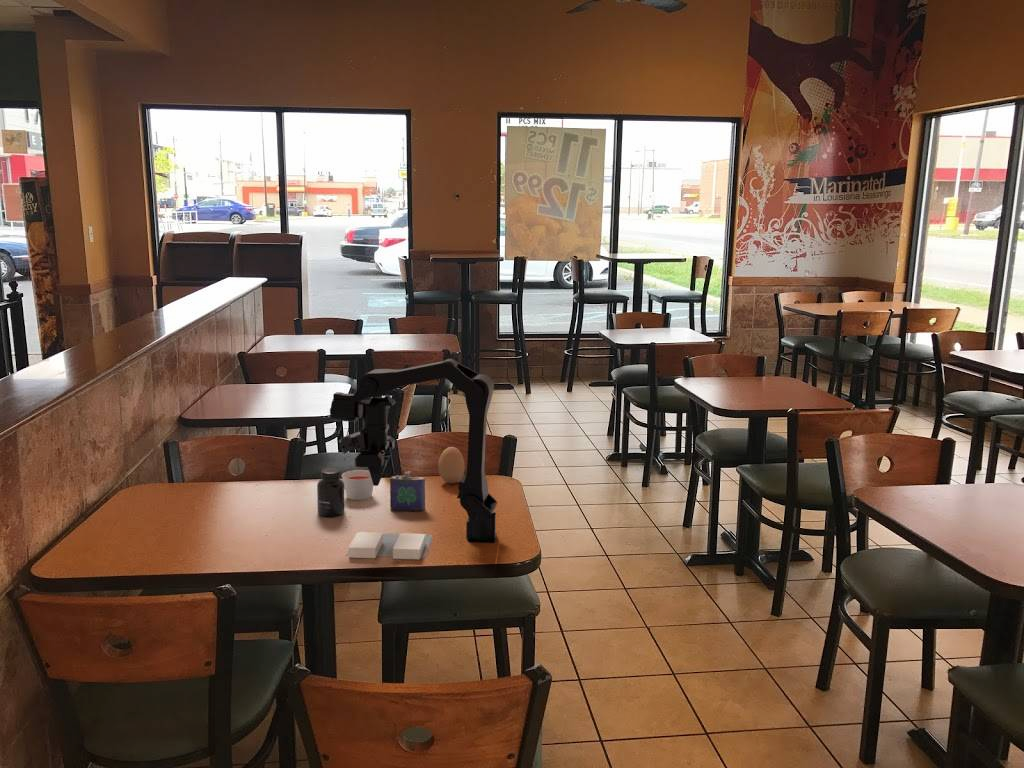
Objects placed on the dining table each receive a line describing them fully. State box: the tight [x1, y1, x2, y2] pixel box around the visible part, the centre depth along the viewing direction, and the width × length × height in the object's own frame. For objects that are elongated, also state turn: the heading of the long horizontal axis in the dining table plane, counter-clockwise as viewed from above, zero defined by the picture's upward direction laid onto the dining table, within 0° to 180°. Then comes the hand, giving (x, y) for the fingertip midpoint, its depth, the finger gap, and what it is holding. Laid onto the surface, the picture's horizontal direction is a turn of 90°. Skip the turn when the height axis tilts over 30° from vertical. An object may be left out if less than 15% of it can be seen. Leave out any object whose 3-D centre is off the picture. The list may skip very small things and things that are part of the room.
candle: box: [341, 469, 374, 501], centre depth 237 cm, size 9×9×6 cm
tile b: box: [348, 531, 384, 559], centre depth 199 cm, size 6×2×10 cm
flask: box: [389, 470, 426, 513], centre depth 226 cm, size 9×3×11 cm, turn 87°
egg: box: [437, 446, 466, 485], centre depth 250 cm, size 8×8×11 cm
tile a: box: [392, 532, 426, 560], centre depth 199 cm, size 6×2×10 cm
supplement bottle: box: [316, 467, 345, 519], centre depth 222 cm, size 7×7×12 cm
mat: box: [345, 533, 434, 559], centre depth 202 cm, size 18×14×1 cm
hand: (376, 485), depth 210 cm, fingers closed
